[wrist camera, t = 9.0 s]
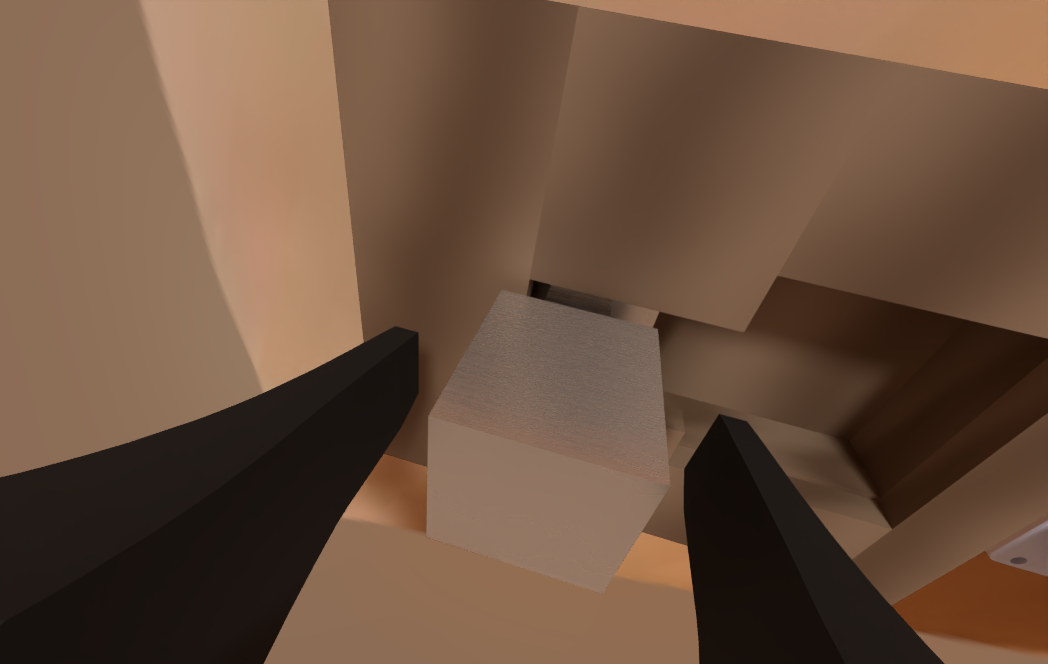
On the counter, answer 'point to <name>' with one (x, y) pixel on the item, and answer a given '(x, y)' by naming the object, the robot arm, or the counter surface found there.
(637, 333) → the keyed peg
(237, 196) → the counter surface
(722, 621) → the robot arm
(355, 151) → the keyhole plate
